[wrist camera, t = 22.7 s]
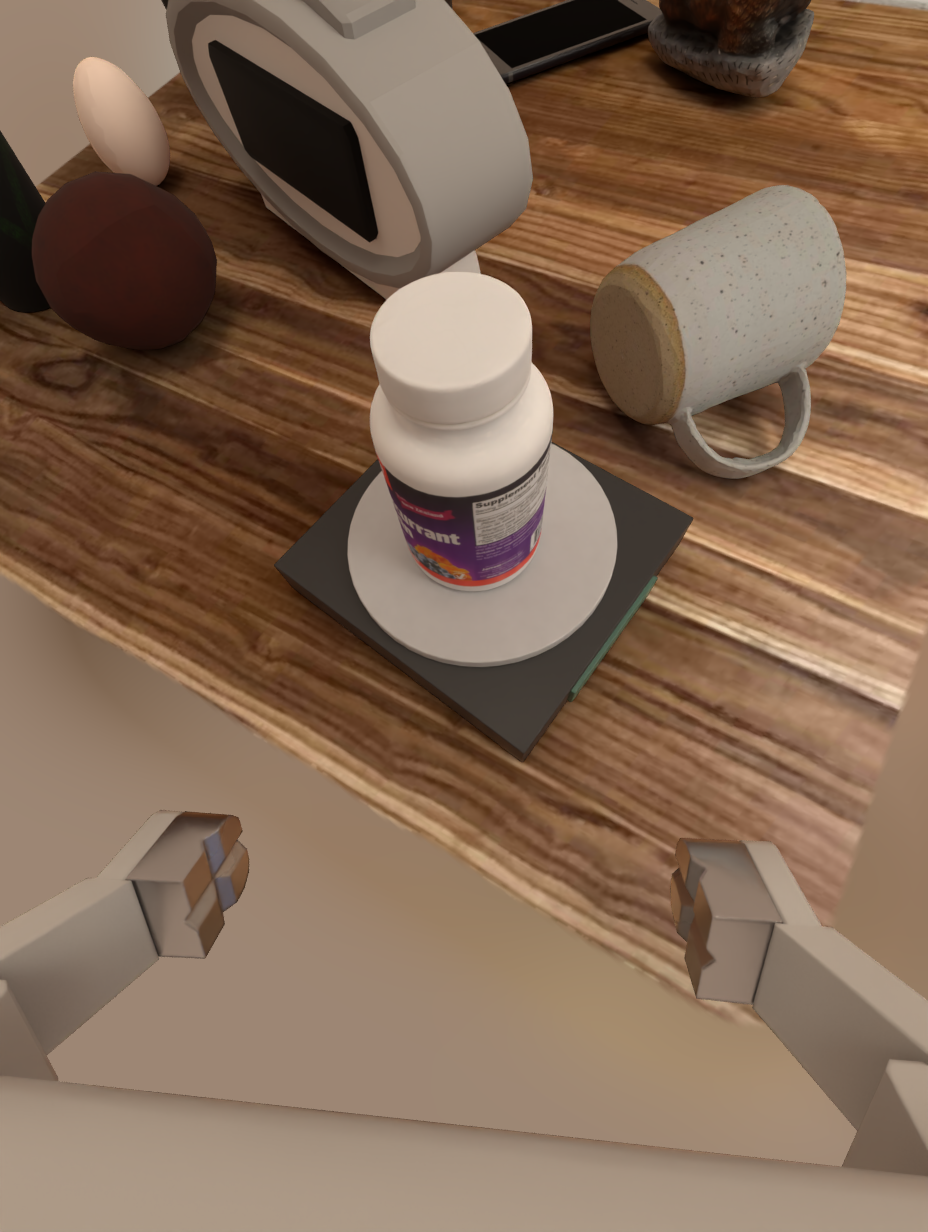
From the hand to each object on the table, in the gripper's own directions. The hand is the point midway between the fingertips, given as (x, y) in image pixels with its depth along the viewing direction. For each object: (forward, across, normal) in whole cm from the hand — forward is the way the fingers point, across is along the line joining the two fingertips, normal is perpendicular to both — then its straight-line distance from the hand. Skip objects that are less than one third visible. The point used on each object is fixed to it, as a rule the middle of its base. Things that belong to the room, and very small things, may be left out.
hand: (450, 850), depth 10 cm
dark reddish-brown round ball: (+27, +20, -12) cm, 36 cm away
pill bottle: (+14, +1, -2) cm, 14 cm away
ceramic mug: (+23, -10, -7) cm, 26 cm away
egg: (+38, +25, -22) cm, 51 cm away
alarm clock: (+32, +9, -17) cm, 37 cm away
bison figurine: (+44, -15, -28) cm, 54 cm away
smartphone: (+49, -4, -33) cm, 59 cm away
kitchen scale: (+16, 0, -1) cm, 16 cm away
